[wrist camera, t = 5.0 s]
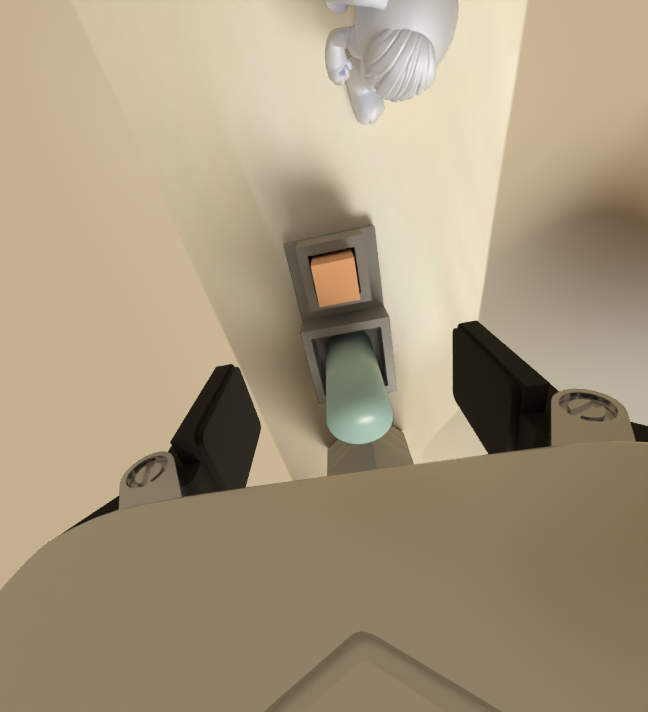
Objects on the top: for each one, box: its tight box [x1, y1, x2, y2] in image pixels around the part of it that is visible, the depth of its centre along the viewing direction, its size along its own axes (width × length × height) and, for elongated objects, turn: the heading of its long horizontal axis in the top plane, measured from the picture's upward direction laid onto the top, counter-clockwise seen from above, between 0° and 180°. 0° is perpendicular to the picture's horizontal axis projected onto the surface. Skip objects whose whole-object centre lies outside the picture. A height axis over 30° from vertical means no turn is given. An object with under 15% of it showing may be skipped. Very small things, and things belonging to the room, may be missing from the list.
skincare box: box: [327, 425, 413, 476], centre depth 32 cm, size 8×7×16 cm
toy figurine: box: [325, 0, 460, 125], centre depth 17 cm, size 7×6×12 cm
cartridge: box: [326, 331, 393, 444], centre depth 27 cm, size 5×5×11 cm
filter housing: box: [284, 225, 397, 403], centre depth 29 cm, size 15×8×4 cm, turn 11°
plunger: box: [311, 248, 360, 307], centre depth 25 cm, size 3×3×5 cm
